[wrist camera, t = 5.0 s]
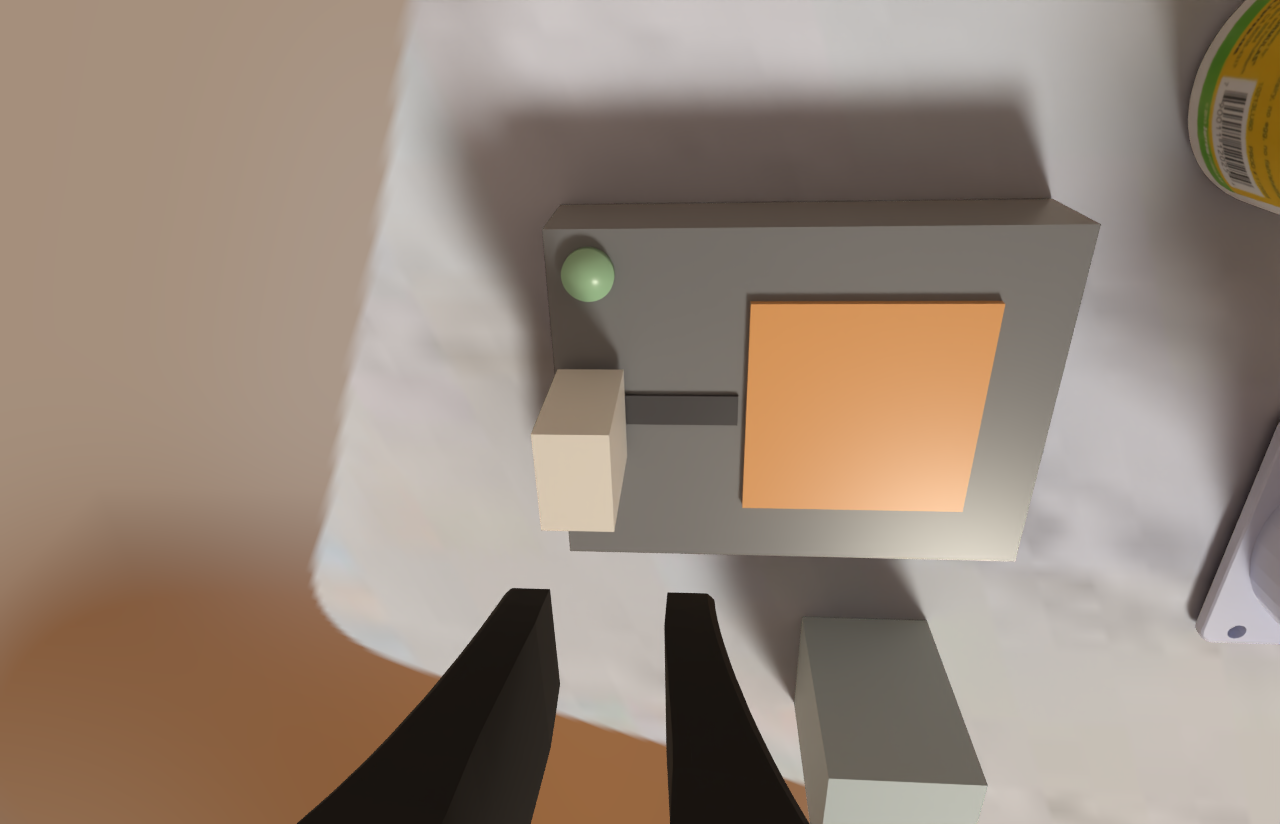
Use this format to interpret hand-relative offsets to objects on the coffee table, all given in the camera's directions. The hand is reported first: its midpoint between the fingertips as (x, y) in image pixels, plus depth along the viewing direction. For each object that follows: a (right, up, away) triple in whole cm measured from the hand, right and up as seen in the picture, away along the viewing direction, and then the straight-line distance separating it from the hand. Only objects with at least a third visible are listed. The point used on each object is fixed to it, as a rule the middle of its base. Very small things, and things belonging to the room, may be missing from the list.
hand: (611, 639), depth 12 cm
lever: (-1, +4, +7) cm, 8 cm away
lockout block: (+8, -5, +14) cm, 17 cm away
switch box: (+5, +5, +9) cm, 11 cm away
